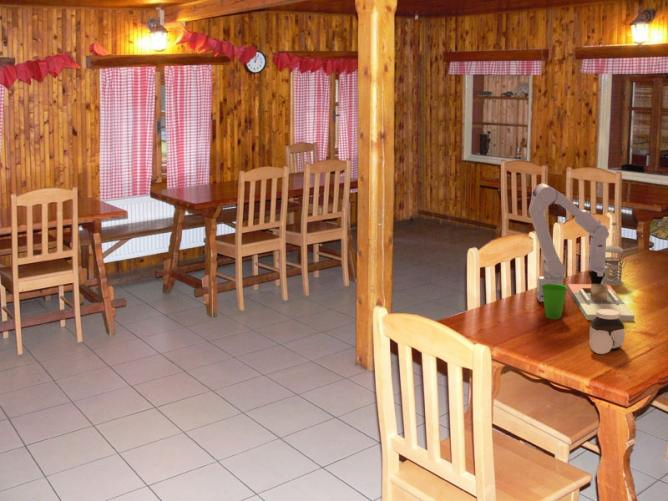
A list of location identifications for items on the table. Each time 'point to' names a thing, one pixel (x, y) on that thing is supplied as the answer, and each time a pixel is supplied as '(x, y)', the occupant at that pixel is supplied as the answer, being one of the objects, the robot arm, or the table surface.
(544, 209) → the robot arm
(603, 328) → the spread jar
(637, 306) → the table surface
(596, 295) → the maple block
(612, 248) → the french press
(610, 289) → the chute board
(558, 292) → the cup
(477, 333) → the table surface
